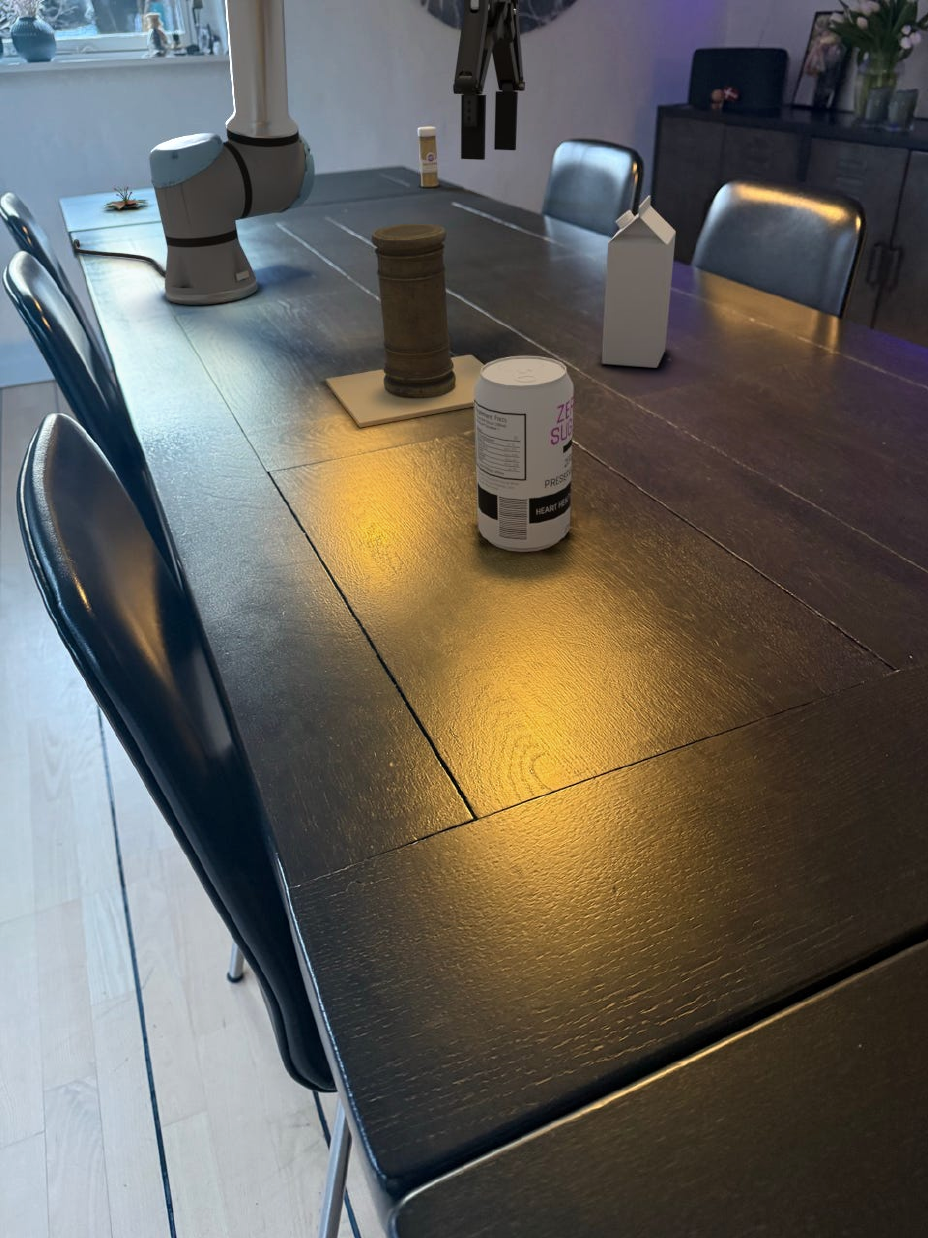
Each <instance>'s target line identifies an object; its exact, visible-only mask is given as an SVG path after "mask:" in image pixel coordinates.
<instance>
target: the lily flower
mask: <svg viewBox="0 0 928 1238" xmlns="http://www.w3.org/2000/svg"><path fill="white" fill-rule="evenodd" d="M117 188H118V189H119V190H120V191H119V190H118V189H117ZM117 188H115V187H113V190H114V191H116V192H118V193H119V194H118V193H116V197H120V198H121V199H122V200H117V201H110V202H108V203H107V204H104V205H103V206H105V207H103V208H102V210H103V209H114V208H117V209H118V210H120V209H121V208H133V207H134V208H139V206H140V204H148V202H147V201H148V199H136V198H133V199H130V197H131V195H132V194H133V191H131V190H130V192H129V194H128V189H129V186H126V188H123V190H124V191H122V189H121V188H120V186H118V187H117Z"/></svg>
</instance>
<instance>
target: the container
mask: <svg viewBox="0 0 928 1238" xmlns="http://www.w3.org/2000/svg"><path fill="white" fill-rule="evenodd" d="M371 234H372V235H371V243H372V245H373V246H374V247H376V248H375V249H374V253H375V255H376V258H377V272H376V275H377V277H378V286H379V287H378V288H379V296H380V297H379V298H380V306H381V316H382V329H383V330H382V331H383V339H384V340H383V343H382V347H383V351H384V359H385V363H384V365H383V367H382V369H383V371H384V373H385V374H386V375H385V377H384V380H383V383H384V386H385V389H386V390H387V391H388V392H389V393H391V394H393V395H396V396H400V397H407V398H426V397H433V396H438V395H441V394H444V393H446V392H448V391H450V390H451V389H452V388H453V387H454V386H455V382H456V376H455V374H454V372H453V371H452V370H453V368H454V364H453V362H452V360H451V358H452V357H451V347H450V346H451V340H450V336H449V327H448V311H447V290H446V287H447V286H446V275H445V273H446V267H445V265H444V253H445V251H444V250H445V244H444V242H445V241H446V238H447V233H446V230H445V228H444V227H442V226H440V225H437V224H430V223H429V224H428V223H406V224H405V223H403V224H395V225H390V226H384V227H381V228H378V229H376V230H374V231H373V232H372V233H371Z"/></svg>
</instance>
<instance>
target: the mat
mask: <svg viewBox="0 0 928 1238" xmlns="http://www.w3.org/2000/svg"><path fill="white" fill-rule="evenodd" d="M450 358H451V360H452V362H453V364H454V368H453V370H452V371H453V372H454V374H455V376H456V382H455V386H454V387H453V388H452V389H451V390H450V391H448V392H446V393H444V394H441V395H438V396H433V397H426V398H407V397H400V396H396V395H393V394H391V393H389V392H388V391H387V390H386V389H385V386H384V383H383V380H384V377H385V375H386V374H385V373H384V371H383V368H382V369H376V370H370V371H365V372H359V373H352V374H348V375H342V376H340V375H339V376H335V377H329V378H325V383H326V385H327V386H328V388H329V389H330V390H331V391H332V393H333V394H334V395H335V397H336V398H337V400H338V401H339V402H340V403H341V405H342V406H343V408H344V409H345V410H346V411H347V413H348V414H349V415H350V416H351V418H352V419H353V420H354V422H355V423H356V424H357V426H358V427H359V428H360V429H361V428H366V427H371V426H376V425H377V426H378V425H382V424H383V425H384V424H388V423H392V422H398V421H403V420H409V419H414V418H420V417H425V416H429V415H430V416H431V415H436V414H441V413H446V412H452V411H458V410H462V409H469V408H474V398H473V391H474V386H475V384H476V382H477V380H478V378H479V376H480V372H481V368H482V367H483V366H484V365H485V364H484V363H482V362H481V360H479V359H477V357H475V356H474V355H472V354H465V355H459V356H453V357H450Z"/></svg>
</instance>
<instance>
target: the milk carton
mask: <svg viewBox="0 0 928 1238" xmlns="http://www.w3.org/2000/svg"><path fill="white" fill-rule="evenodd" d="M615 224H616V225H617V227H618V228H619V230H618V231H617V232H615V234H614V235H613V236H612V237H611V238H610V240H609V241H608V242H607V253H606V254H607V255H606V273H605V274H606V275H605V295H604V314H603V315H604V316H603V333H602V334H603V335H602V352H601V353H602V355H601V357H602V358H601V364H603V365H612V366H613V365H615V366H624V367H625V366H626V367H640V368H653V369H655V368H658V367H659V364H660V362H661V360H662V359H663V356H664V354H665V352H666V346H667V334H668V321H669V311H670V301H671V289H672V278H673V267H674V257H675V244H676V233H677V232H676V230H675V229H674V228H673V227H672V226H671V225H670V224H669V223H668V222H667V221H666V220H665V219H664V217H662V216H661V215H660V214H659V213H658V212H657V210H656V209H655V208H653V207H652V205H651V195H647V197H646V198H645V199H644V200H643V202H641V204H640V205H639V206H638V213H637V214H636V215H634V214H633V212H632V210H631V209H628V210H626V212H624V213H623V214H622V215H621V216H620V217H619V218H617V219H616V220H615Z"/></svg>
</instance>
